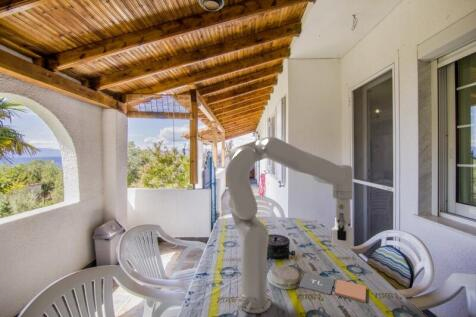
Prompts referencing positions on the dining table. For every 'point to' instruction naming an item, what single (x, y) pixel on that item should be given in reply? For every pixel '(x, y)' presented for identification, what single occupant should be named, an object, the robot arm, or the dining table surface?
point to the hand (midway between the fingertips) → (342, 236)
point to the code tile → (317, 283)
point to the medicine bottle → (341, 243)
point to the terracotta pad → (351, 290)
